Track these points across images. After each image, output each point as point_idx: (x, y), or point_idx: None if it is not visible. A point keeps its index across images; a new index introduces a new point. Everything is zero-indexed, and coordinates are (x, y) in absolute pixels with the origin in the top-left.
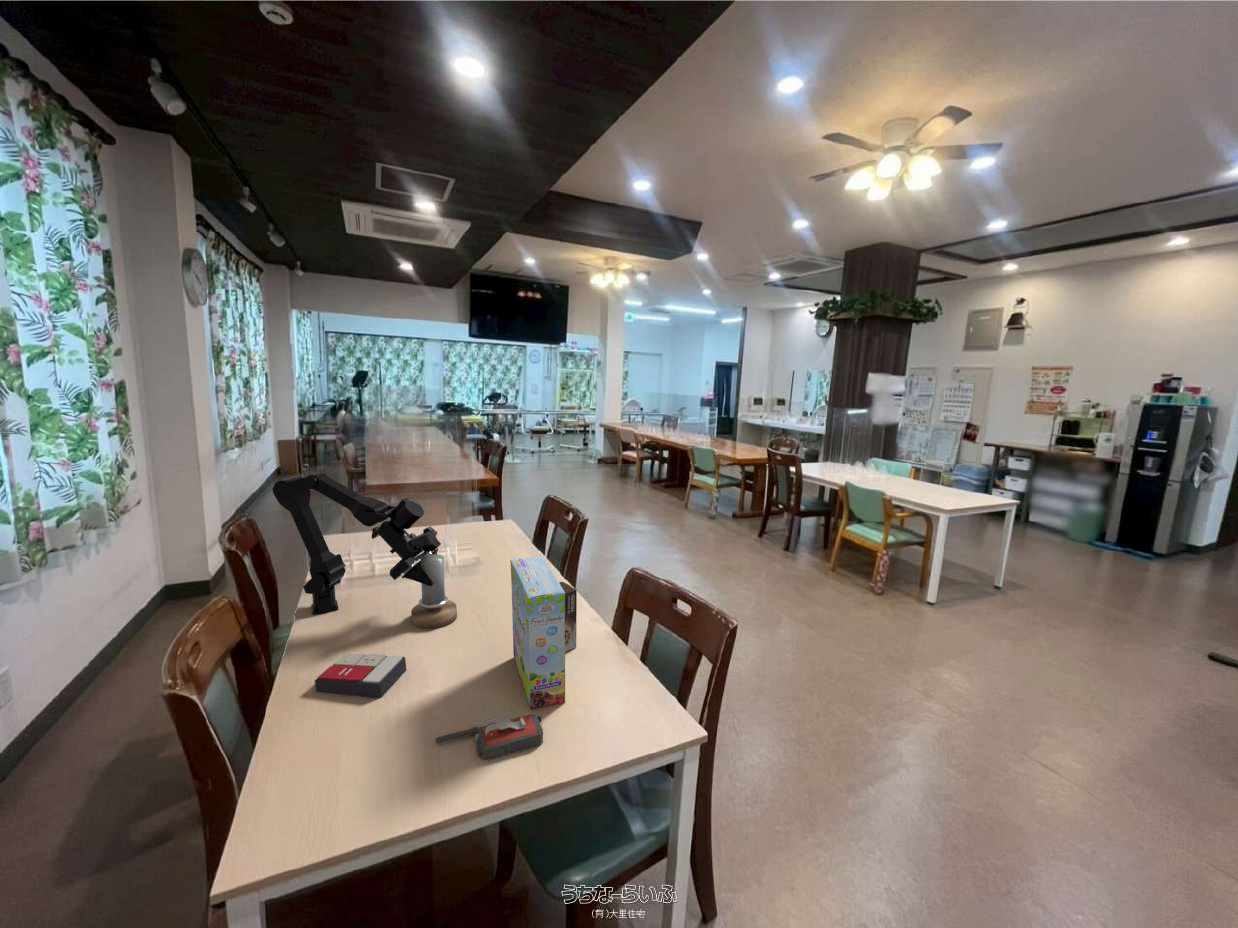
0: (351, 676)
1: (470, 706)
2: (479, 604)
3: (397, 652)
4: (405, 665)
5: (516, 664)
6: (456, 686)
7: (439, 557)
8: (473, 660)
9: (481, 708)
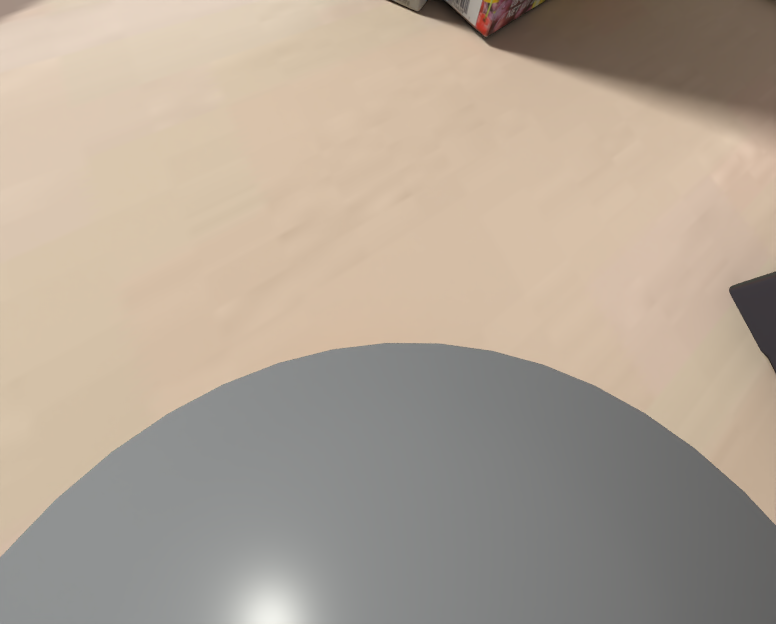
0: None
1: (717, 42)
2: (145, 354)
3: (682, 405)
4: (754, 278)
5: (534, 2)
6: (685, 107)
7: (210, 607)
8: (560, 131)
9: (706, 20)
